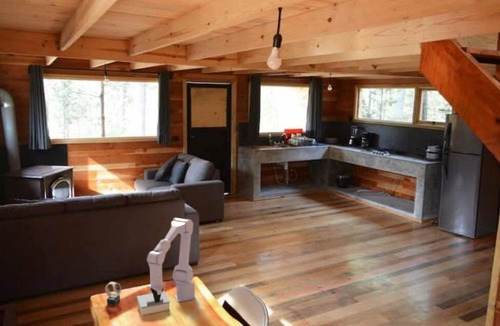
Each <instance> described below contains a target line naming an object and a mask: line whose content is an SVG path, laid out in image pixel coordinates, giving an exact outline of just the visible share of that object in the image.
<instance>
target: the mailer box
mask: <svg viewBox="0 0 500 326" xmlns="http://www.w3.org/2000/svg"><path fill="white" fill-rule="evenodd" d="M137 307H138V310H139V313H140V315H141V317H143V316H144V317H145V316H149V315H154V314H157V313H162V312H167V311H170V303H165V304H160V305H155V306H150V307H145V308H141V307H140V305H139V302H138V299H137Z"/></svg>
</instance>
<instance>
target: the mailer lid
mask: <svg viewBox="0 0 500 326" xmlns="http://www.w3.org/2000/svg"><path fill="white" fill-rule="evenodd" d="M136 298H137V299H138V302H139V305H140V307H141V308H145V307H150V306H155V305H160V304H165V303H169V304H170V303H171V301H170V300H169V297H168V296H167V294H166V292H165V290H163V292H162V294H161V297H160V302H158V303H155V301H154V297H153V293H152V292H151V293H146V294H141V295H137V296H136ZM138 302H137V303H138Z"/></svg>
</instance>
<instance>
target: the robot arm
mask: <svg viewBox="0 0 500 326" xmlns="http://www.w3.org/2000/svg"><path fill="white" fill-rule="evenodd" d="M193 231H194V222H193V221H192V219H187V218H179V217H174V218H173V219H172V221H171V223H170V229H169V231H168V232H167V234H166V236H165V237H164V239H160V241H159V243H158V244H157V245H156V246H155V247H154V248H153V250H152V251H149V253H148V254H147V257H146V262H147V263H148V267H149V279H150V282H149V283H150V284H148V285H147V287H148V289H149V288H150V292H151V293H153V297H154V301H155V303H158V302H160V297H161V294H162V292H163V291H164V288H163V286H164V283H163V263H164V261H165V258H166V254H167V252H168V251H169V250H170V248H171V243H172V241H173V240H175V238H176V237H177V235H178V234H180V244H179V257H178V264H177V265H175V266H174V269H173V273H172V279H173V281H174V283H175V287H176V288H175V289H176V294H174V297H175V299H176V301H177V302H178V303H179V302H184V301H190V300H195V299H196V295H195V294H196V292H195V289H196V288H195V282H194V280H193V279H194V274H193V270H194V269H193V268H192V266H191V265H190V264H189V261H190V252H191V242H192V241H191V238H192V234H193V233H194V232H193Z"/></svg>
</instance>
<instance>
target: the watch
mask: <svg viewBox="0 0 500 326" xmlns="http://www.w3.org/2000/svg"><path fill="white" fill-rule="evenodd" d="M110 285H111V286H112V288H113V289H112V290H113V292H115V293H112V292H111V291H110V289H109V286H110ZM104 291H105V293H106V295H107V296H108V297H107V299H106V305H108V306H116V305H117V304H118V303H119V302H120V300H121V295H120V294H121V291H122V286H121V284H120V283H118V282H116V281H109V283H107V284H106V285H105V288H104Z"/></svg>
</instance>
